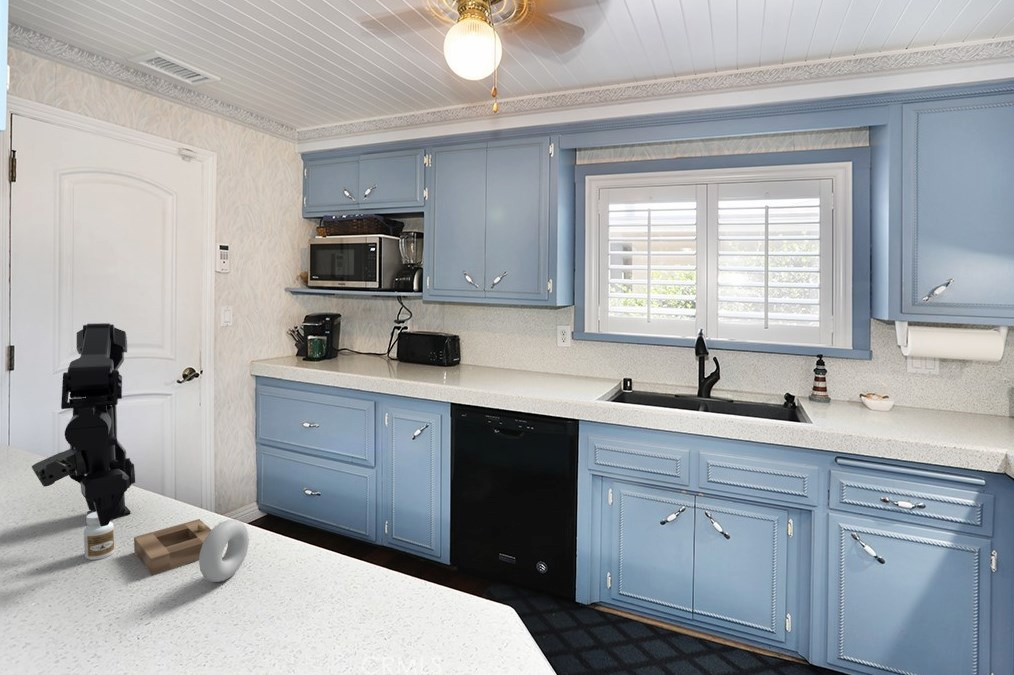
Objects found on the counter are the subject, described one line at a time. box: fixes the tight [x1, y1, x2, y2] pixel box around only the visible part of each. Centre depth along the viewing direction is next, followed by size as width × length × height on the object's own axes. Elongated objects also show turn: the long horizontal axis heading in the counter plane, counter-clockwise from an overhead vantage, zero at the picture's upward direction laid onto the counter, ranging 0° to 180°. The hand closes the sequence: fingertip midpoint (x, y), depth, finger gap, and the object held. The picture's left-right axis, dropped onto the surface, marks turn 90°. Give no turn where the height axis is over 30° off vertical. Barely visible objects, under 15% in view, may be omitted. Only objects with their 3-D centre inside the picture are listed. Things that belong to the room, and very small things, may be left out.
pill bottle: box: [83, 512, 116, 561], centre depth 98 cm, size 4×4×8 cm
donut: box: [198, 519, 250, 583], centre depth 91 cm, size 10×4×10 cm, turn 168°
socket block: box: [133, 518, 212, 576], centre depth 99 cm, size 11×11×4 cm
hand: (98, 517), depth 97 cm, fingers open, 9 cm apart
